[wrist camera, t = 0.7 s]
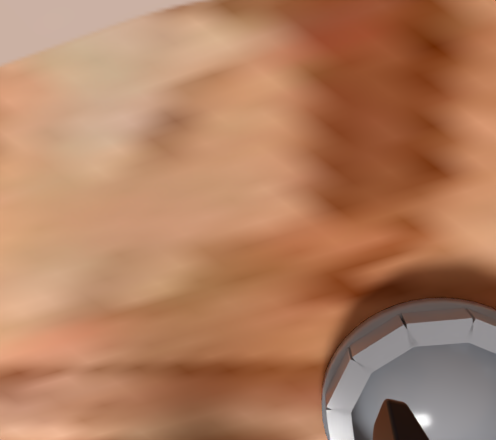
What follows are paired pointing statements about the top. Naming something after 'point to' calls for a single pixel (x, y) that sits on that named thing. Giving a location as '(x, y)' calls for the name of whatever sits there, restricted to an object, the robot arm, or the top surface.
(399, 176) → the top surface
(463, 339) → the gray bowl
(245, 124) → the top surface
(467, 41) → the top surface
